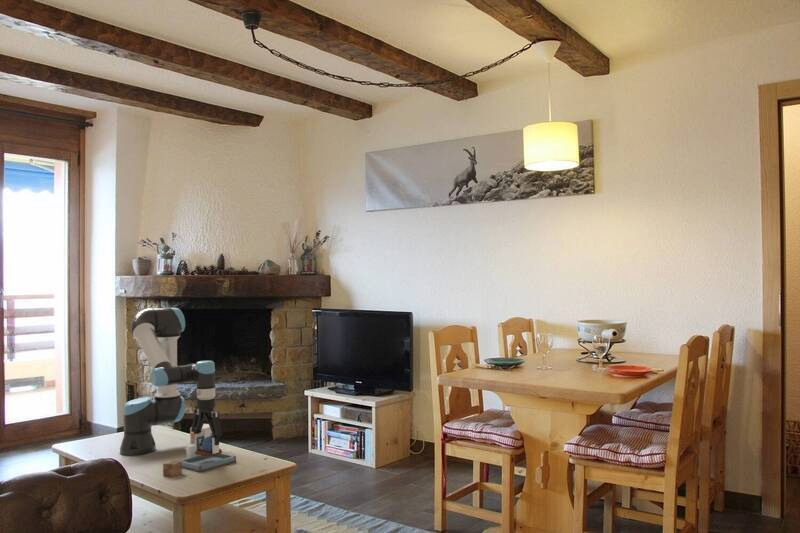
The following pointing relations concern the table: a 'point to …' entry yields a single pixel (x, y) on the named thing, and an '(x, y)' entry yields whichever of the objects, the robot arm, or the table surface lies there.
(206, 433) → the ink box
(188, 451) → the white egg
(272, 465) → the table surface
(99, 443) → the table surface
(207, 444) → the model
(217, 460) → the tray
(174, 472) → the walnut cube
